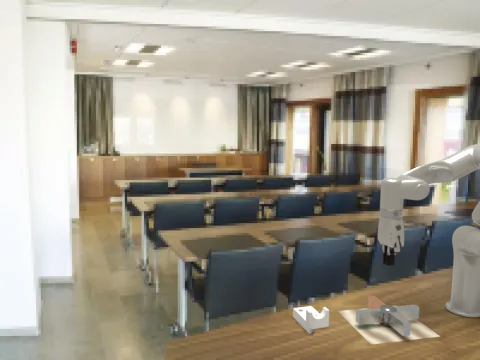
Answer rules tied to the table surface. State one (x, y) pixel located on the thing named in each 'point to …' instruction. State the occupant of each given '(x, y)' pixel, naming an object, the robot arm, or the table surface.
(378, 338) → the base plate
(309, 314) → the bracket
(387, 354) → the table surface
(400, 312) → the capstan
